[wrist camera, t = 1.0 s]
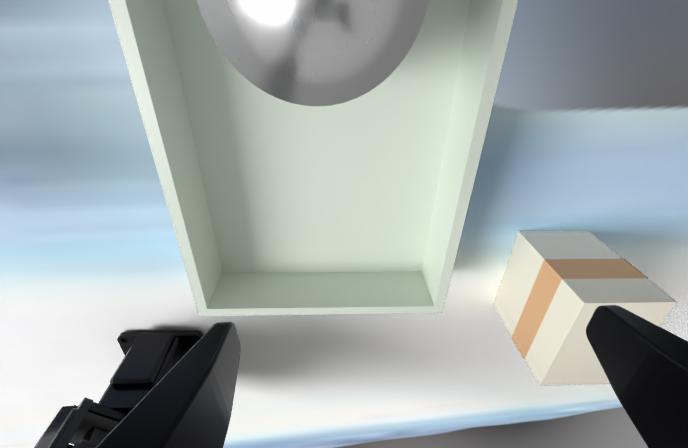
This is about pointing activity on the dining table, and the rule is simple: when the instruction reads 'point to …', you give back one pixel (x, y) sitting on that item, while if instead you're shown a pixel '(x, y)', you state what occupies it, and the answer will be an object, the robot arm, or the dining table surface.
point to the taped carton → (568, 301)
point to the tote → (316, 165)
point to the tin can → (314, 44)
